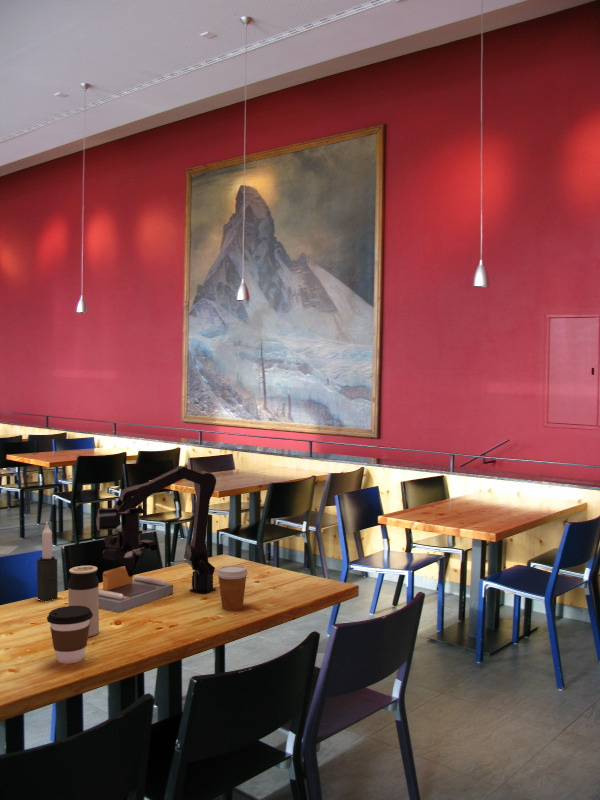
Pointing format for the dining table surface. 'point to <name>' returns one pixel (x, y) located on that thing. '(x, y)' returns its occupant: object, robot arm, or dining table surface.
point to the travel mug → (85, 593)
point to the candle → (47, 569)
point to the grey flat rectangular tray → (134, 594)
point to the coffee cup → (70, 632)
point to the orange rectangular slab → (116, 578)
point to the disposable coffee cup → (232, 586)
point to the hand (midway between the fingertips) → (130, 576)
